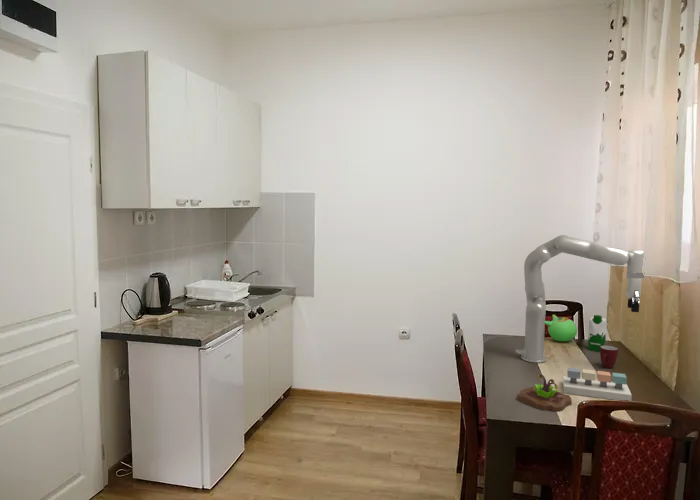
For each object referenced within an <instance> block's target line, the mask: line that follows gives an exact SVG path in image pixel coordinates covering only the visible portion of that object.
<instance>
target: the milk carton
mask: <svg viewBox="0 0 700 500" xmlns="http://www.w3.org/2000/svg"><path fill="white" fill-rule="evenodd" d="M607 327H608V326H607V318H604V317H603V316H602V315H599V314H594V315H593V316H591V317H590V318H589V322H588V330H587V331H588V332H587V333H588V335H587V344H588V345H587V346H588V351H592V352H597V353H598V352H599V353H600V346H606V341H607V339H606V338H607Z"/></svg>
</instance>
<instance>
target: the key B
mask: <svg viewBox="0 0 700 500" xmlns="http://www.w3.org/2000/svg"><path fill="white" fill-rule="evenodd" d="M581 378H582V379H585V385H591V382H592V380H593V381H595V380H596V378H597V373H596V371H595V369H593V370H592V369H584V368H582V369H581Z"/></svg>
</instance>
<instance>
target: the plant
mask: <svg viewBox="0 0 700 500" xmlns="http://www.w3.org/2000/svg"><path fill="white" fill-rule="evenodd" d="M537 378H538V379H541V378H543V383H541V384H538V383H535V384H534V385H535V386H531V387H526V388H524V389H521V390H520V391H519V393H518V394H517V397H516V398H517V400H518V401H520V402H522V403H525V404H526V405H529V406H533V407H534V408H536V409H540V410H542V411H552V412H558V413H559V412H563V411H564V410H565V409H566V408H567V407H570V406H572V404H573V403H572V402H573V401H572V397H571V396H570V394H567V393H564V392H561V391H559V389H558V388H559V386H558V385H557V384H556V383H555V380H554V379H552V378H550V379H549V380H548V382H547V379H546V377H545V375H543V374H538V375H537ZM552 385H554V386H552ZM554 389H555V390H554Z"/></svg>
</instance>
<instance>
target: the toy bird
mask: <svg viewBox="0 0 700 500" xmlns="http://www.w3.org/2000/svg"><path fill="white" fill-rule="evenodd" d="M545 325H546V326H547V331H548V334H549V336H550V337H551V339H554V340H556V341H558V342H569V341H571V340H573V339H574V338H575V337H576V336H577V333H578V327H577V325H576V323H575V322H574V321H573V320H572V319H569V317H559V316H557V315H556V314H552V320H551V321H550V320H545Z"/></svg>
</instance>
